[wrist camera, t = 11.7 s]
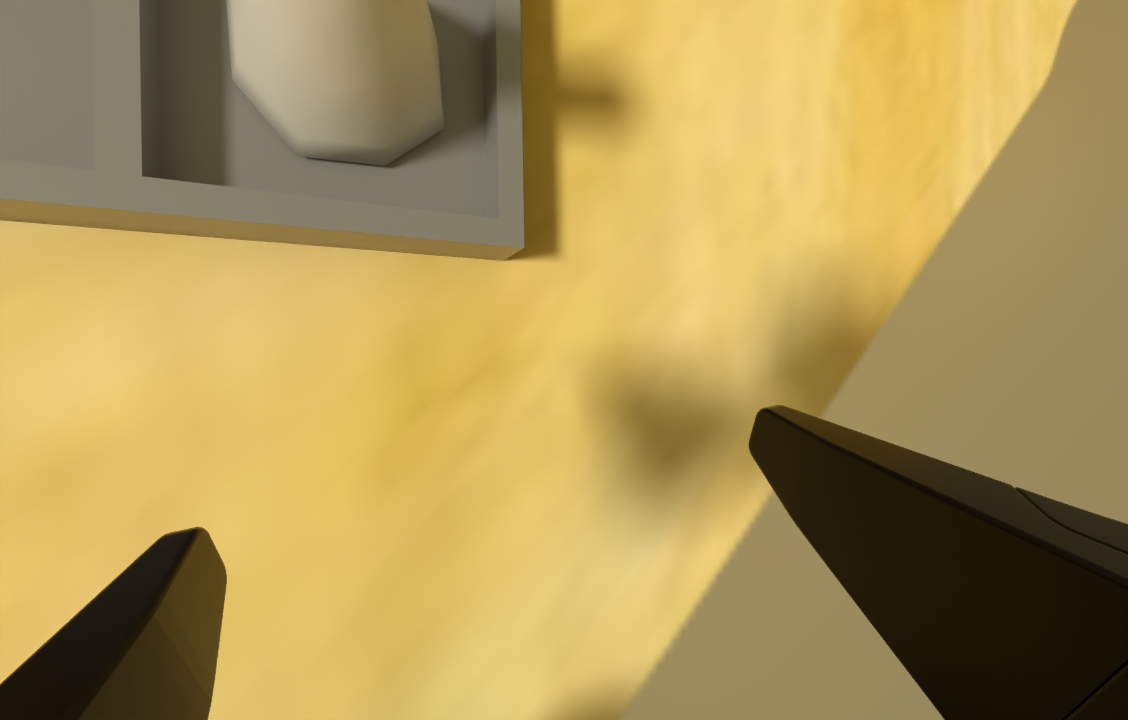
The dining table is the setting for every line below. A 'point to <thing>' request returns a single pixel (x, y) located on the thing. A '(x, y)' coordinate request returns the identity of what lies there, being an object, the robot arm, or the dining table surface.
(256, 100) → the flask
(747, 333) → the dining table surface
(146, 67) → the caddy tray
